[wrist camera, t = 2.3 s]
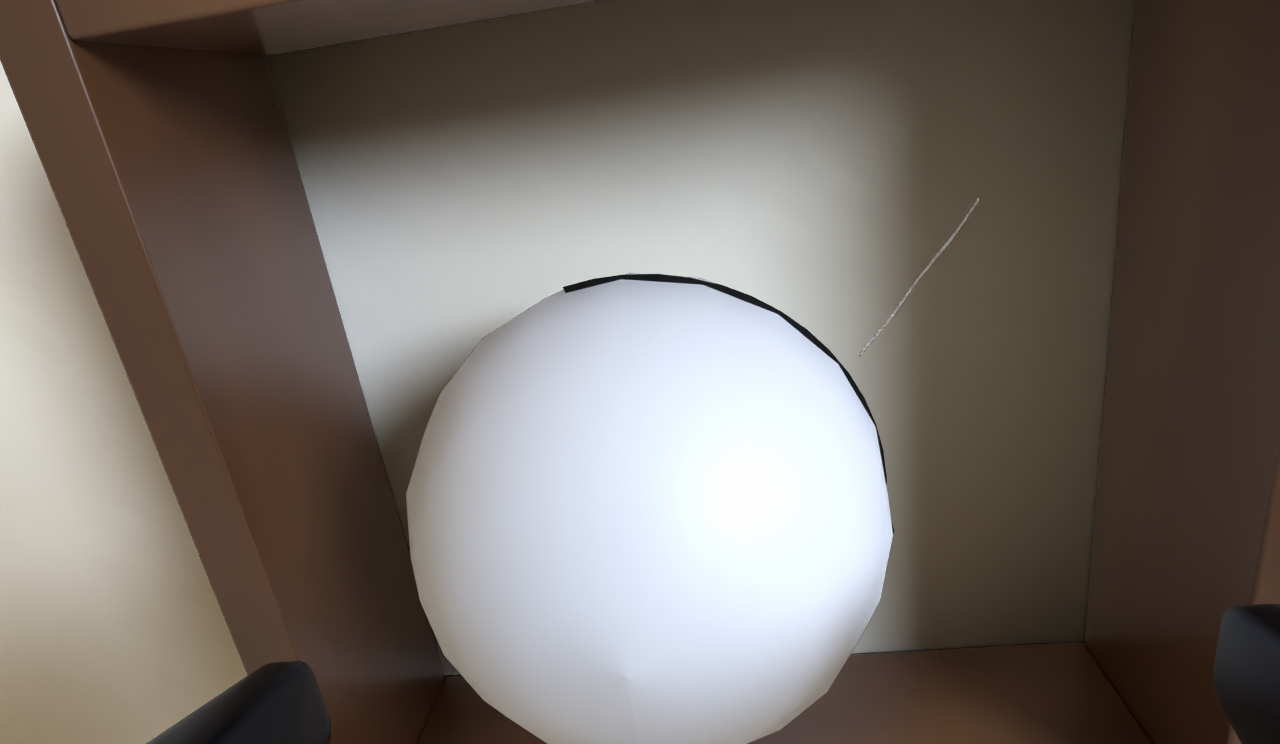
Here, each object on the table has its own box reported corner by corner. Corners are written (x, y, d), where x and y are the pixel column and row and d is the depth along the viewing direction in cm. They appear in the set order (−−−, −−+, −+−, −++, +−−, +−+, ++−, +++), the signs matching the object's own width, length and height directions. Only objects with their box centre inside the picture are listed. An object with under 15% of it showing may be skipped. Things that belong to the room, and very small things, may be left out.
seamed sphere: (633, 619, 17) (587, 974, 10) (411, 375, 15) (177, 606, 9) (1042, 380, 14) (1350, 647, 8) (828, 48, 13) (975, 2, 6)
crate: (1218, -178, 11) (1529, -339, 7) (1127, 674, 17) (1272, 873, 12) (196, 3, 13) (-42, -36, 9) (416, 709, 19) (332, 890, 14)
